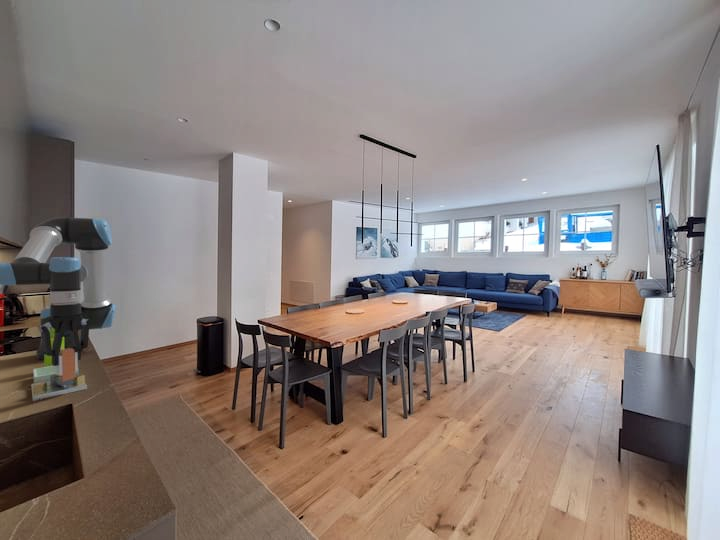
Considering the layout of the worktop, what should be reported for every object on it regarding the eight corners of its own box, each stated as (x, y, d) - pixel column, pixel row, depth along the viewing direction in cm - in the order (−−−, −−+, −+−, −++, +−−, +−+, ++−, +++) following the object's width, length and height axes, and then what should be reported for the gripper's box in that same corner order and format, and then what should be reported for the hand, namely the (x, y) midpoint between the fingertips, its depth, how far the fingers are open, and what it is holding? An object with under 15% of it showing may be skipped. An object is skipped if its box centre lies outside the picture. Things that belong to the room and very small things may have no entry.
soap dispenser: (38, 374, 120) (37, 323, 119) (51, 368, 126) (49, 320, 126) (57, 373, 121) (55, 323, 120) (68, 367, 128) (67, 319, 127)
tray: (33, 378, 116) (33, 369, 116) (75, 370, 125) (74, 361, 125) (34, 387, 108) (34, 377, 108) (78, 377, 117) (78, 368, 117)
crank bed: (31, 388, 107) (31, 377, 107) (81, 377, 117) (81, 367, 117) (32, 401, 98) (32, 388, 98) (87, 388, 108) (86, 377, 107)
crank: (48, 384, 107) (47, 347, 106) (65, 380, 110) (64, 344, 110) (60, 391, 101) (59, 352, 101) (77, 386, 105) (76, 348, 105)
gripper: (37, 307, 94) (39, 383, 95) (101, 301, 109) (101, 366, 110) (26, 305, 97) (27, 378, 98) (89, 299, 112) (90, 363, 113)
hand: (66, 372), depth 104 cm, fingers closed on crank, 3 cm apart
